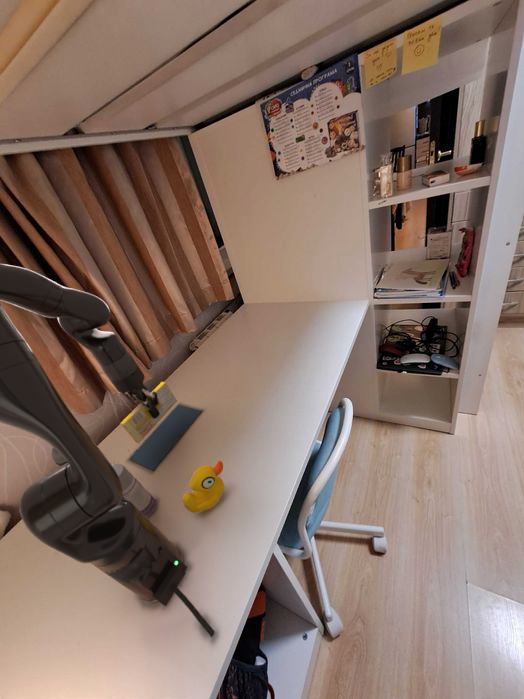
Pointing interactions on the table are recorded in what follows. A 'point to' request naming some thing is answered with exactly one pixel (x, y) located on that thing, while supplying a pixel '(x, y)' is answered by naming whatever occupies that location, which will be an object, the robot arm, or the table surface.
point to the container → (135, 491)
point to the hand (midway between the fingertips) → (153, 415)
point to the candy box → (148, 414)
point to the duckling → (204, 488)
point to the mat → (165, 437)
